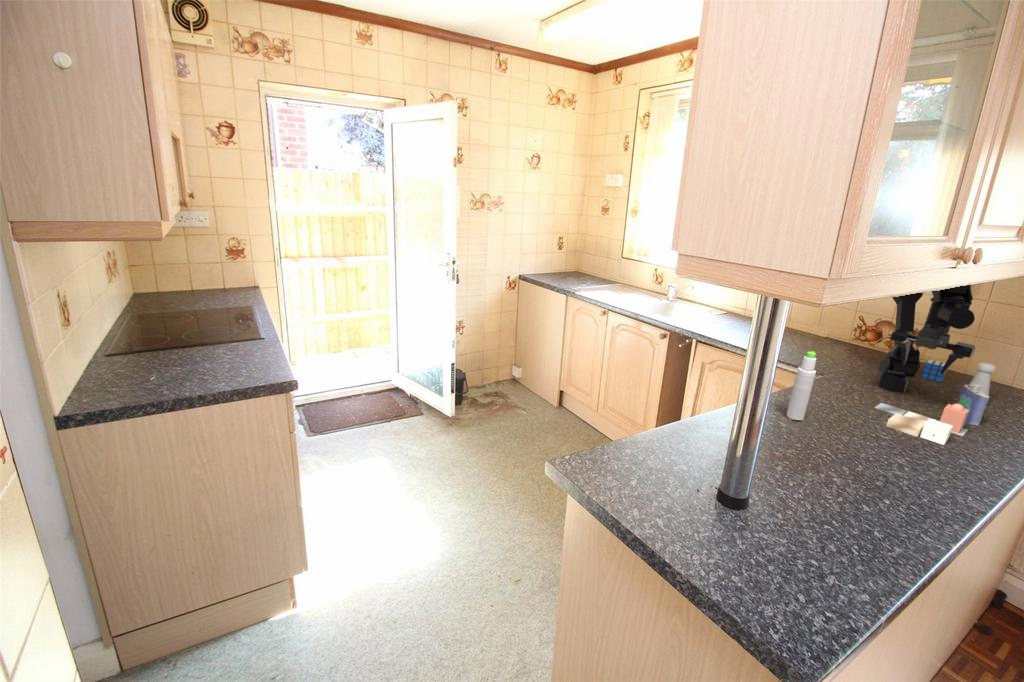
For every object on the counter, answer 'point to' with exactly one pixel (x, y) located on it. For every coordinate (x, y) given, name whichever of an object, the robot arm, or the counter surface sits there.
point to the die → (936, 431)
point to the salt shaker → (983, 377)
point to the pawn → (954, 416)
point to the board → (910, 415)
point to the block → (906, 424)
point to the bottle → (802, 387)
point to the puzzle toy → (933, 370)
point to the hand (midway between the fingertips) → (922, 369)
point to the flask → (973, 402)
